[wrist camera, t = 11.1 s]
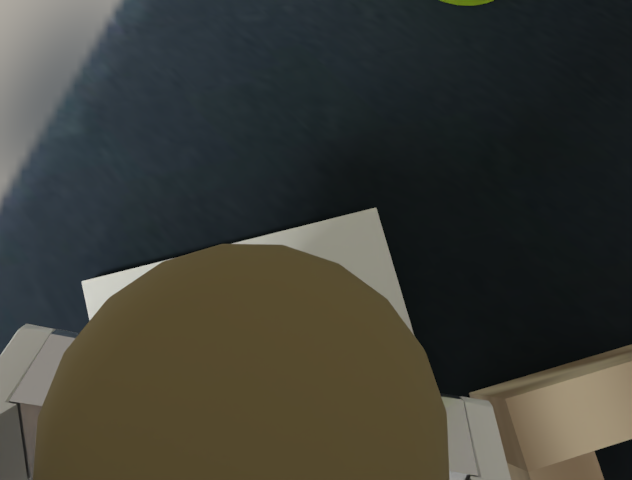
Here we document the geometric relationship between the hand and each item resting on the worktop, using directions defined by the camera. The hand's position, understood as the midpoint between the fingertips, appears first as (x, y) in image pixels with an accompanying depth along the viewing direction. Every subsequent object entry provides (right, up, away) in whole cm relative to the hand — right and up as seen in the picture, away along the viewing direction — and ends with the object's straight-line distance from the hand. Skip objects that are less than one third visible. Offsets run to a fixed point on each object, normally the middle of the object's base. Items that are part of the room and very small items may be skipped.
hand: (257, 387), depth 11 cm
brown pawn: (-1, -2, +7) cm, 7 cm away
